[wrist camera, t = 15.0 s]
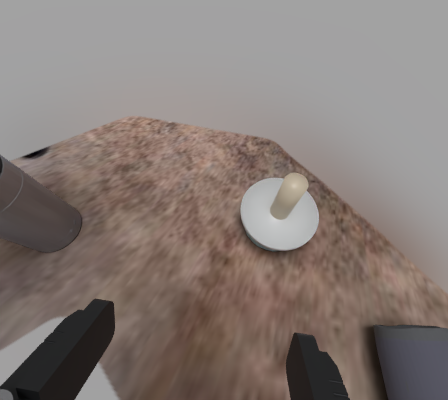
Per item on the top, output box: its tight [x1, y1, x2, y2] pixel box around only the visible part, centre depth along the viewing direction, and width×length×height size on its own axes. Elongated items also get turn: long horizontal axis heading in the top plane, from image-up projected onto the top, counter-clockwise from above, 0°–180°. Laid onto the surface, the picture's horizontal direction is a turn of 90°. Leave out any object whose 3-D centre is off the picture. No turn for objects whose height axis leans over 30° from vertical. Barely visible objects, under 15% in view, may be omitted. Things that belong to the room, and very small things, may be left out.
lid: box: [240, 173, 319, 251], centre depth 34 cm, size 13×13×10 cm
